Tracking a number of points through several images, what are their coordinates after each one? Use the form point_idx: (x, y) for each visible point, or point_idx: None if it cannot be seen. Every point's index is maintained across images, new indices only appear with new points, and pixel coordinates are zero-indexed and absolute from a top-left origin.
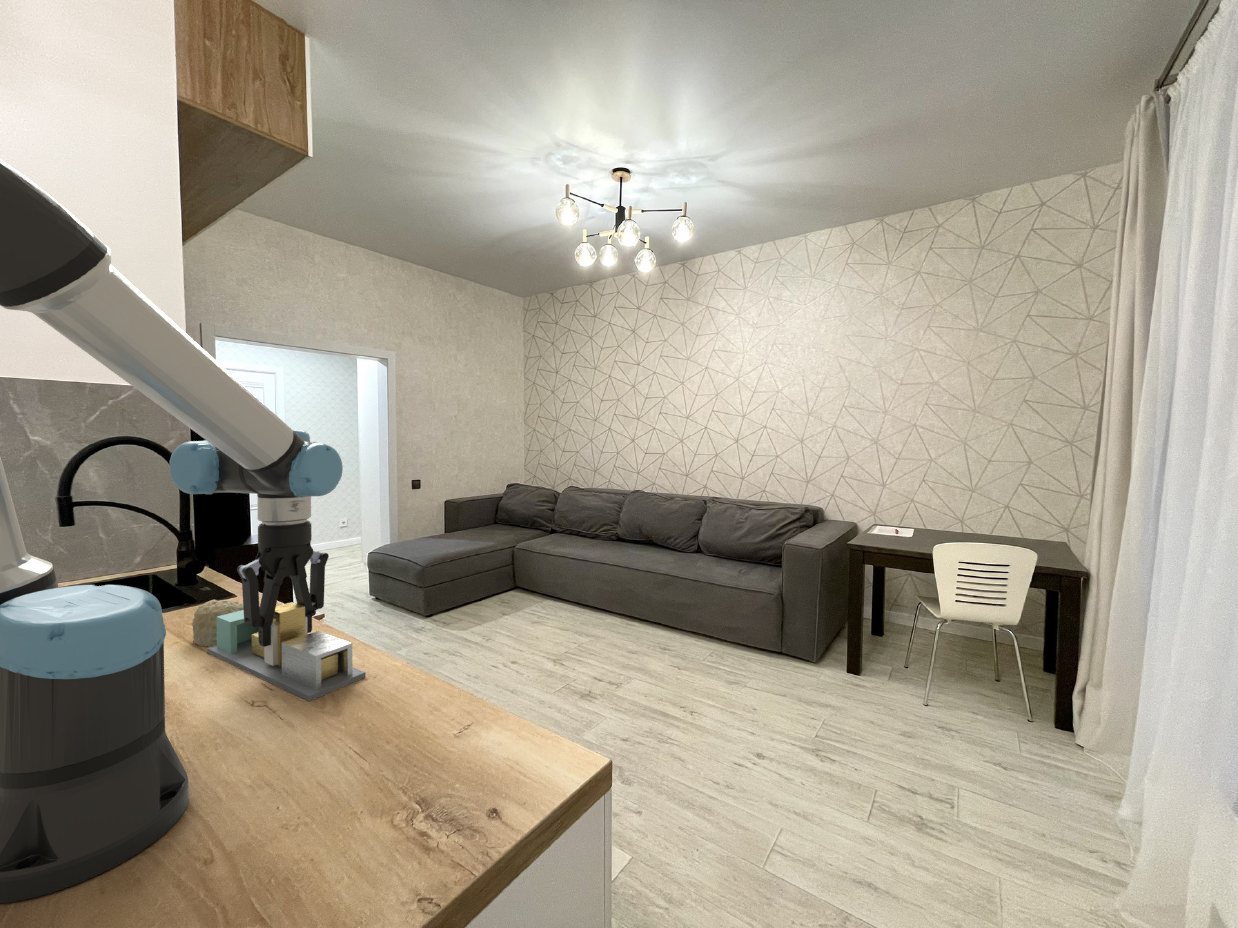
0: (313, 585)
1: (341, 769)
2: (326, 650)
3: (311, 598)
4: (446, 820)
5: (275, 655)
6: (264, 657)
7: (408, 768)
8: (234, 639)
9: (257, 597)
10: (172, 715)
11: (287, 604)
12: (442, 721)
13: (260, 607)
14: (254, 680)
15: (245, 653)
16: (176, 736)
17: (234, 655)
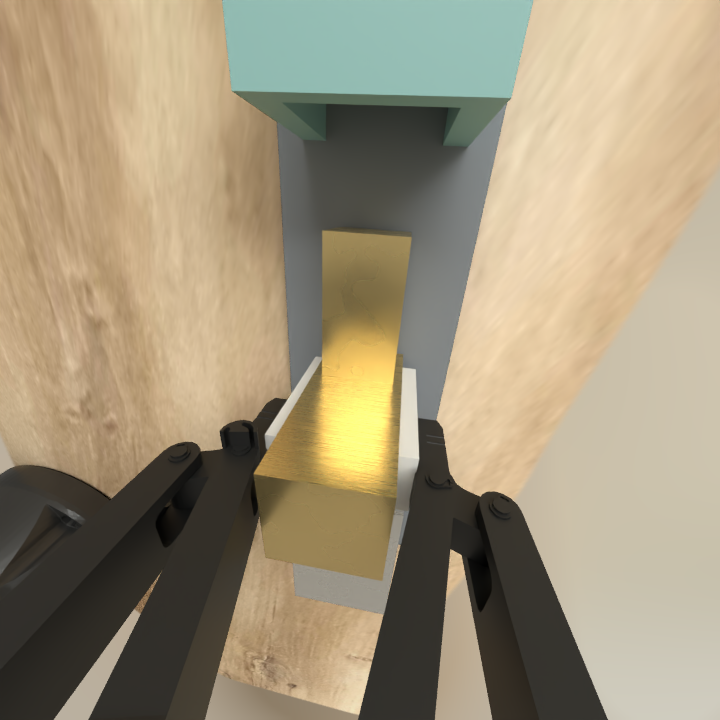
0: (508, 690)
1: (251, 610)
2: (325, 596)
3: (487, 552)
4: (269, 670)
5: None
6: (312, 362)
7: (288, 643)
8: (298, 125)
9: (94, 651)
10: (136, 376)
11: (355, 507)
12: (362, 643)
13: (195, 513)
14: (283, 375)
15: (332, 198)
16: (138, 442)
17: (303, 177)
